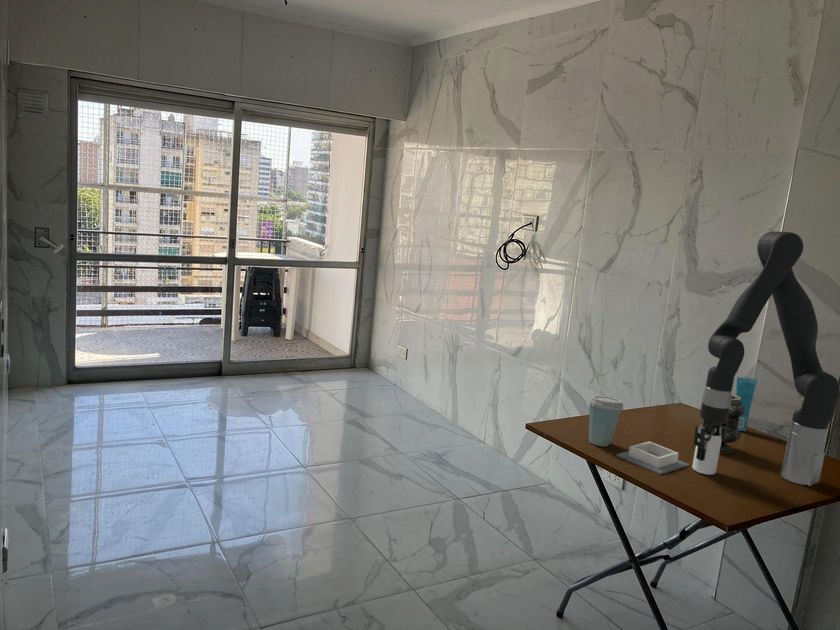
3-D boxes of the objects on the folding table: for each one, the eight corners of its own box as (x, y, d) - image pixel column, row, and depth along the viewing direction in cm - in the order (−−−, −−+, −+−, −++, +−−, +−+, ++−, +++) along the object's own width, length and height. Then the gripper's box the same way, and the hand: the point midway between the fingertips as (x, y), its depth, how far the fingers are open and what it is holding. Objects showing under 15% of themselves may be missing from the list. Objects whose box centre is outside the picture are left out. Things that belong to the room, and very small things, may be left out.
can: (690, 471, 199) (697, 432, 197) (693, 464, 205) (700, 426, 202) (714, 477, 196) (721, 438, 194) (716, 470, 202) (723, 432, 200)
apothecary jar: (738, 447, 225) (748, 395, 221) (735, 458, 214) (746, 403, 211) (699, 438, 230) (708, 387, 227) (695, 448, 220) (704, 395, 216)
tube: (742, 427, 247) (752, 376, 243) (751, 432, 242) (761, 380, 239) (724, 426, 246) (733, 375, 242) (732, 431, 241) (742, 379, 238)
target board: (688, 465, 204) (690, 454, 203) (659, 474, 194) (662, 463, 194) (645, 448, 215) (647, 437, 214) (616, 456, 206) (618, 444, 205)
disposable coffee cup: (579, 435, 221) (586, 391, 219) (612, 438, 221) (619, 394, 218) (586, 447, 211) (593, 401, 208) (621, 451, 211) (628, 404, 208)
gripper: (715, 410, 189) (705, 466, 192) (741, 404, 198) (730, 458, 201) (690, 402, 195) (681, 457, 198) (716, 396, 204) (707, 449, 207)
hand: (706, 457), depth 200 cm, fingers closed on can, 6 cm apart
